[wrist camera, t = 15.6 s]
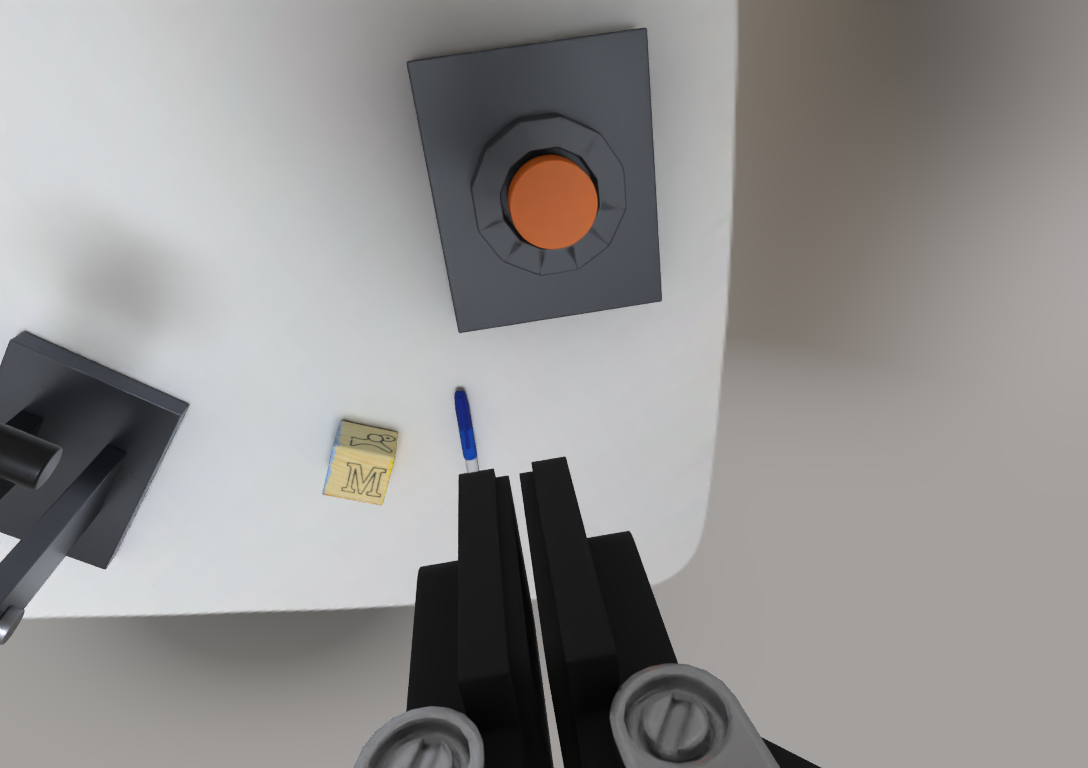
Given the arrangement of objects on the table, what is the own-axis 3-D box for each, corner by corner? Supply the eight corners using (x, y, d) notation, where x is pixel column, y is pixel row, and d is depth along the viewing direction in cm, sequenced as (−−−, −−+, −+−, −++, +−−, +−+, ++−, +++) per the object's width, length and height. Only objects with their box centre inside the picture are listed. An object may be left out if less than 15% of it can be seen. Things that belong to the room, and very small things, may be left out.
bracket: (24, 330, 34) (-203, 474, 22) (190, 404, 36) (63, 568, 25) (-41, 499, 37) (-268, 700, 26) (115, 556, 40) (-28, 762, 28)
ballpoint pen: (449, 390, 37) (448, 398, 36) (465, 387, 37) (465, 395, 36) (481, 546, 42) (482, 557, 41) (496, 544, 42) (497, 555, 41)
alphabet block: (341, 417, 37) (332, 446, 35) (399, 430, 38) (395, 459, 35) (330, 465, 39) (320, 496, 36) (387, 476, 39) (381, 508, 36)
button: (501, 161, 29) (503, 167, 28) (586, 148, 29) (593, 153, 28) (513, 245, 31) (516, 255, 29) (594, 233, 31) (601, 242, 29)
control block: (409, 60, 30) (402, 61, 27) (635, 28, 31) (658, 25, 27) (458, 318, 36) (458, 347, 32) (651, 288, 36) (672, 313, 33)
